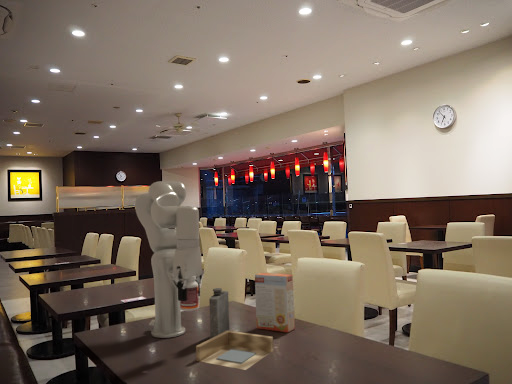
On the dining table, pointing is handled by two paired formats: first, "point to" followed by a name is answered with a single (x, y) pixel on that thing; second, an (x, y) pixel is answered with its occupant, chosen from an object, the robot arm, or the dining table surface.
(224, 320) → the flask
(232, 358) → the slate pad
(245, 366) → the wooden corner stand
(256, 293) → the cracker box
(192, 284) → the pill bottle
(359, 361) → the dining table surface
